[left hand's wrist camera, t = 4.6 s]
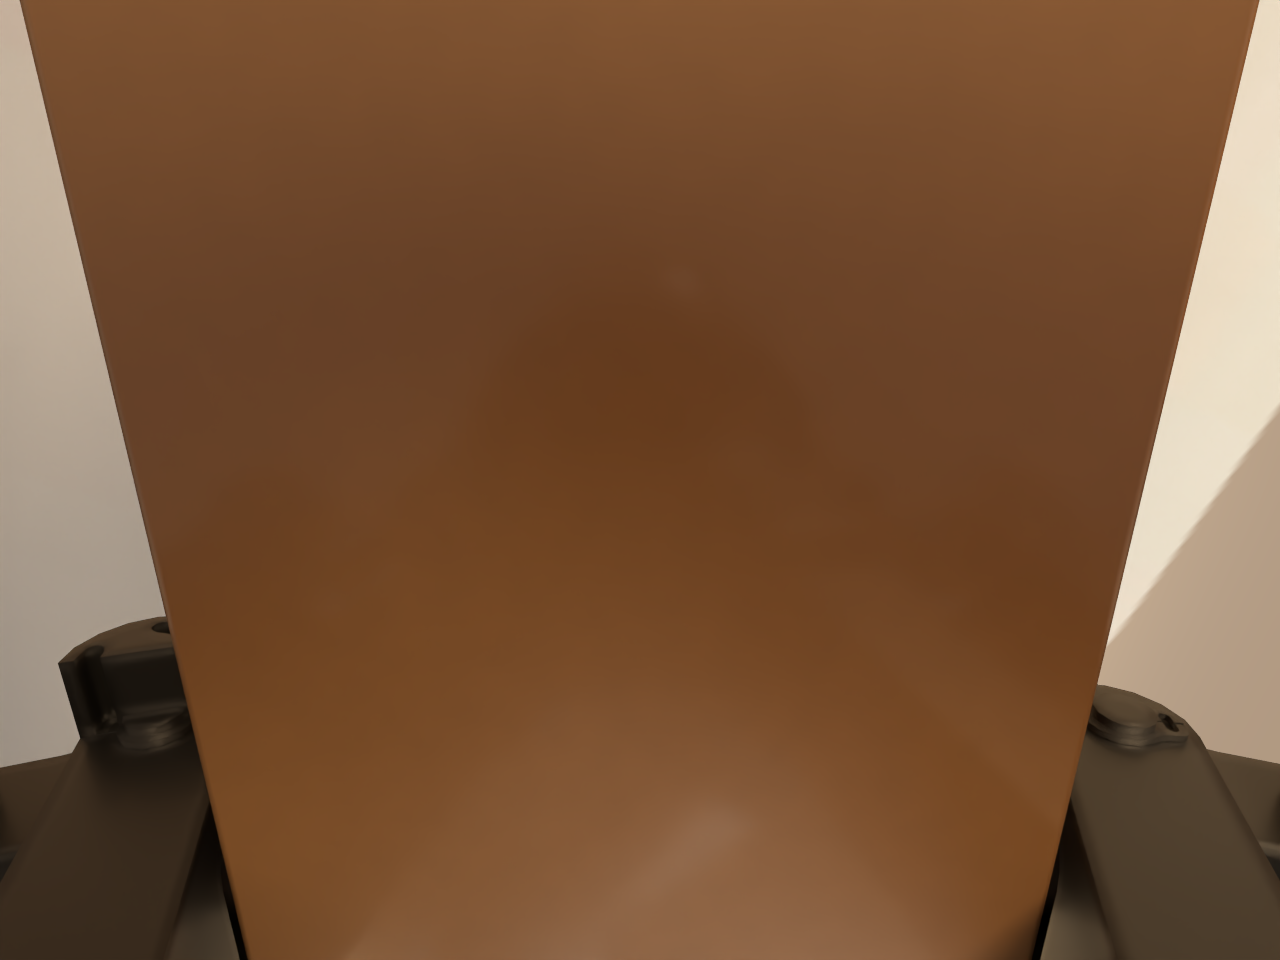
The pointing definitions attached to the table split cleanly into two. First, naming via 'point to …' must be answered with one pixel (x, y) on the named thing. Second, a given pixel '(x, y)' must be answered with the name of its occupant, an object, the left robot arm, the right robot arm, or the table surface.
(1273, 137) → the table surface
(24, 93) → the table surface
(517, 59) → the bar
